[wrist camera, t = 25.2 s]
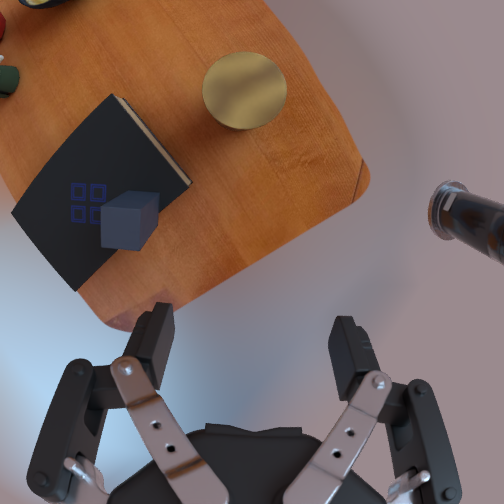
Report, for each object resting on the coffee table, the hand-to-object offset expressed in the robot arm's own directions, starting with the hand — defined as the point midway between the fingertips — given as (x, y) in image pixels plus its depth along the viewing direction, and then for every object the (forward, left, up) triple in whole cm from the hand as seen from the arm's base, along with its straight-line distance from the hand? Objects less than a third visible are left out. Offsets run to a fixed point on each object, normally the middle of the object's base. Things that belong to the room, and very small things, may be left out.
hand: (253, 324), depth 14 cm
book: (+18, +11, -34) cm, 40 cm away
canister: (+8, -12, -34) cm, 37 cm away
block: (+10, +7, -27) cm, 30 cm away
